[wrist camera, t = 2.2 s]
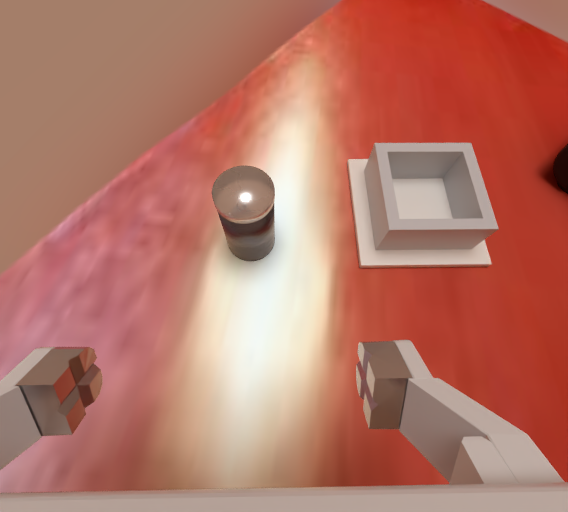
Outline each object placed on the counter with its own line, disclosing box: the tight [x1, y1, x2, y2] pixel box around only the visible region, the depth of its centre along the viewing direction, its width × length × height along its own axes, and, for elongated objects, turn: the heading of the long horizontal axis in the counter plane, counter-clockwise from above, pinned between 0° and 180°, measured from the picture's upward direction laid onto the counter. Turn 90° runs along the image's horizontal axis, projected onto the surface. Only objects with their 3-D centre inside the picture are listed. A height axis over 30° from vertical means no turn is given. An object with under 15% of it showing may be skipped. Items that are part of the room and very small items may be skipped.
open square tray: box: [347, 143, 498, 268], centre depth 30 cm, size 12×12×5 cm
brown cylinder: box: [212, 166, 275, 261], centre depth 27 cm, size 4×4×8 cm
